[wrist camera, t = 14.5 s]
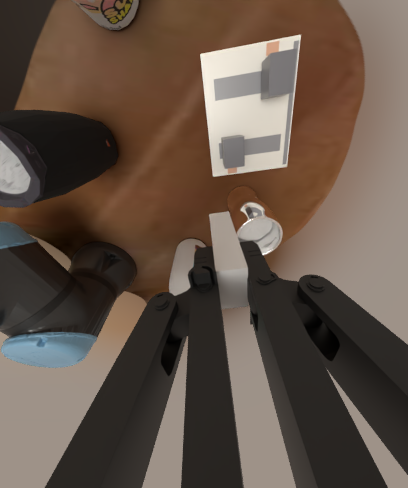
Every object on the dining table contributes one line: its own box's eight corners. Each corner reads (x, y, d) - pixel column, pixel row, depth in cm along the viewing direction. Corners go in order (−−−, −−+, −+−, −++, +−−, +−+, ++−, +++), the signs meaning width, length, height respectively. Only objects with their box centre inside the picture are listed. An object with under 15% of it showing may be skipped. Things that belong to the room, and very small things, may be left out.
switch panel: (212, 173, 35) (213, 177, 33) (200, 59, 27) (200, 53, 25) (281, 164, 34) (287, 166, 32) (293, 41, 26) (301, 34, 23)
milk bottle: (178, 263, 48) (163, 338, 31) (174, 237, 44) (155, 309, 27) (208, 262, 48) (209, 338, 31) (207, 236, 43) (207, 308, 27)
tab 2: (260, 99, 27) (268, 96, 24) (261, 62, 25) (270, 53, 21) (281, 96, 27) (292, 92, 23) (284, 58, 24) (297, 48, 21)
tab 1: (223, 163, 32) (225, 168, 28) (221, 137, 30) (223, 139, 26) (240, 161, 32) (244, 166, 28) (239, 134, 29) (244, 136, 26)
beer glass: (255, 216, 40) (277, 258, 28) (223, 215, 40) (231, 257, 28) (261, 184, 36) (290, 216, 24) (226, 182, 36) (237, 214, 24)
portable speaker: (121, 121, 31) (28, 122, 15) (121, 177, 36) (52, 224, 20) (66, 106, 30) (-98, 89, 14) (74, 166, 35) (-39, 205, 19)
